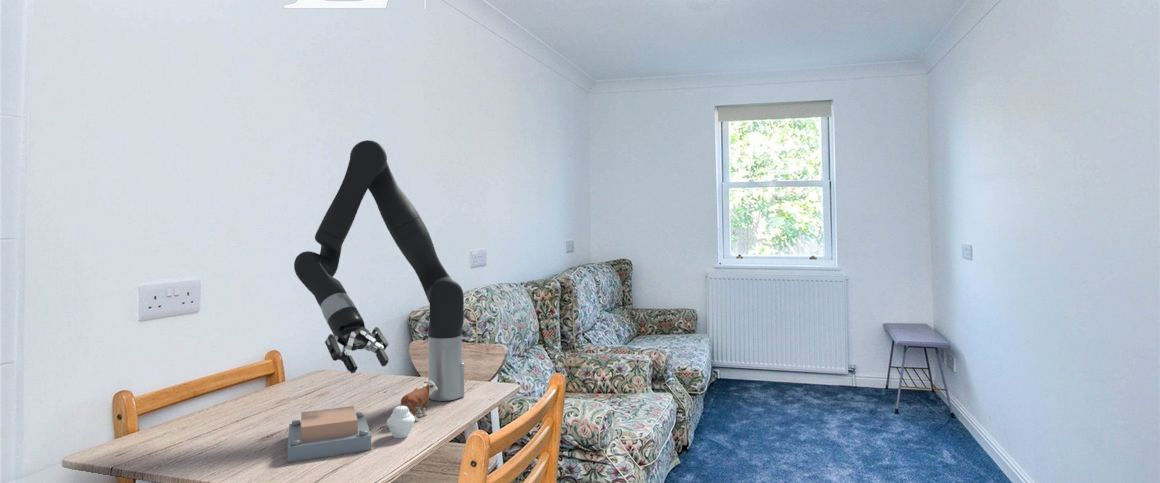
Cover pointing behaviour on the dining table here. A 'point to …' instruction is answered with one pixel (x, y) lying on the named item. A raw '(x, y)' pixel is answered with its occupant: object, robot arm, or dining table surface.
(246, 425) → the dining table surface
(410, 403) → the bull figurine
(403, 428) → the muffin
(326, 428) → the grey pegged tray
